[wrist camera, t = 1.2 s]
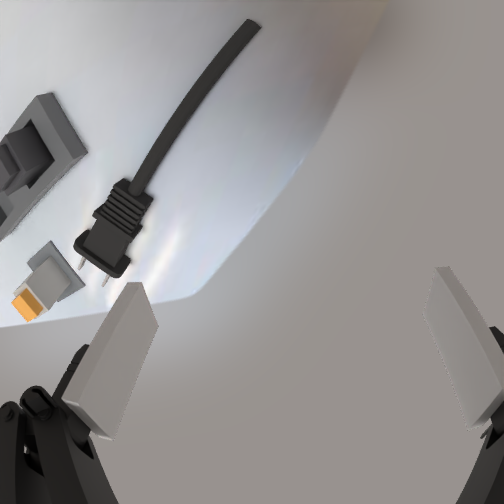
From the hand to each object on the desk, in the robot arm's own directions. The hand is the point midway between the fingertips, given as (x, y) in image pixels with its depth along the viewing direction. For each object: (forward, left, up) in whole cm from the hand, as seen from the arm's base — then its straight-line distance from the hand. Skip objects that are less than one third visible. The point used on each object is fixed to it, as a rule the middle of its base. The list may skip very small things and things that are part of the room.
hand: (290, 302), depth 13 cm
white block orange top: (-2, -44, -25) cm, 50 cm away
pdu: (-19, -39, -25) cm, 50 cm away
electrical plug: (-7, -14, -26) cm, 30 cm away
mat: (-2, -44, -25) cm, 50 cm away
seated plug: (-19, -28, -25) cm, 42 cm away
